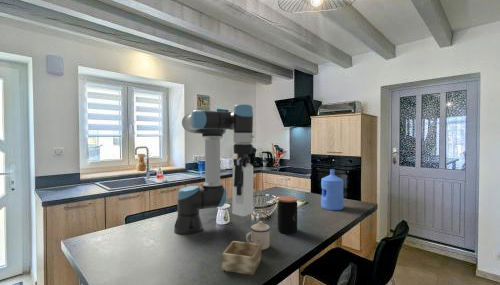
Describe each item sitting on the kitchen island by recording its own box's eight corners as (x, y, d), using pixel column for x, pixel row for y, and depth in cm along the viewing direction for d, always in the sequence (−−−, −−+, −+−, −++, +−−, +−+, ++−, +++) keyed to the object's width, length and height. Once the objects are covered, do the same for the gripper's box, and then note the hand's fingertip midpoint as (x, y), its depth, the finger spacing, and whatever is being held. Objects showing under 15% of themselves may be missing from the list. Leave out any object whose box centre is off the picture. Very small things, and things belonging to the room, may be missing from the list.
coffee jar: (296, 235, 133) (297, 201, 133) (276, 233, 136) (276, 200, 135) (297, 228, 144) (297, 196, 144) (278, 226, 146) (278, 195, 146)
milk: (253, 213, 102) (254, 158, 102) (243, 216, 98) (244, 159, 97) (241, 210, 106) (242, 157, 106) (231, 213, 102) (232, 158, 101)
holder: (222, 270, 98) (222, 253, 98) (232, 255, 110) (232, 240, 110) (253, 275, 95) (253, 258, 95) (261, 259, 107) (261, 244, 107)
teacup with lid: (263, 240, 126) (264, 217, 126) (273, 247, 118) (273, 223, 118) (241, 245, 121) (242, 220, 121) (250, 253, 113) (250, 227, 112)
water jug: (345, 206, 189) (345, 169, 188) (340, 212, 175) (341, 171, 175) (324, 203, 197) (324, 167, 196) (318, 208, 184) (318, 169, 183)
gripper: (244, 144, 90) (244, 208, 91) (258, 143, 110) (257, 195, 111) (225, 144, 92) (224, 206, 93) (241, 143, 112) (241, 194, 113)
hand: (242, 200), depth 102 cm, fingers closed on milk, 8 cm apart
